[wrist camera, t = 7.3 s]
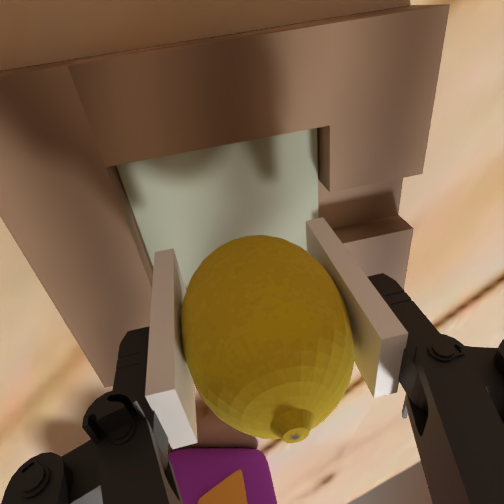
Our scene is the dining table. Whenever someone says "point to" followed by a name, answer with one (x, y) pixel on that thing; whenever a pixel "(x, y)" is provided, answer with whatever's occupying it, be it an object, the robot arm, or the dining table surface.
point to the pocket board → (213, 156)
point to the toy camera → (222, 476)
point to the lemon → (267, 337)
